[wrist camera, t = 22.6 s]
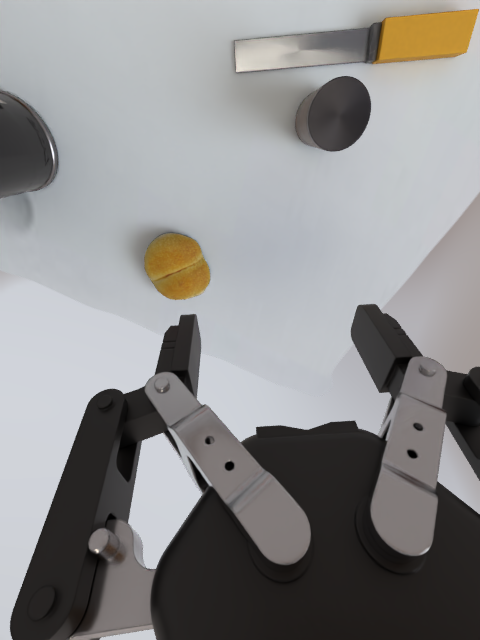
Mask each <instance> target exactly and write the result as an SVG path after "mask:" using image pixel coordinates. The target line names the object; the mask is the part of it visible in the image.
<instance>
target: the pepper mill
mask: <svg viewBox="0 0 480 640" xmlns="http://www.w3.org/2000/svg"><path fill="white" fill-rule="evenodd" d="M370 112H371V101H370V96H369V93H368V90H367V89H366V87H365V86H364V84H363V83H362V82H360V81H359V80H358V79H356V78H353V77H349V76H342V77H338V78H335V79H333V80H331V81H329V82H328V83H326V84H325V85H323V86H322V87H320V88H319V89H317V90H316V91H315V92H313V93H312V94H310V95H309V96H307V97H306V98H305V99H304V100H303V102H302V103H301V105H300V106H299V108H298V111H297V114H296V119H295V127H296V132H297V134H298V136H299V138H300V139H301V141H302V142H304V143H305V144H307V145H309V146H312V147H316V148H320V149H323V150H327V151H340V150H343V149H346V148H348V147H349V146H351V145H352V144H354V143H355V142H356V141H357V140H358V139H359V138H360V136H361V135H362V134H363V132H364V130H365V129H366V126H367V124H368V121H369V118H370Z"/></svg>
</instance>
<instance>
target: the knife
mask: <svg viewBox="0 0 480 640" xmlns="http://www.w3.org/2000/svg"><path fill="white" fill-rule="evenodd" d="M478 11H479V9H472V10H462V11H452V12H442V13H431V14H421V15H411V16H400V17H390V18H385V19H384V20H383V21H382V22H381V23H374V24H373V25H372V26H370V28H362V29H351V30H341V31H330V32H320V33H309V34H299V35H288V36H278V37H267V38H257V39H246V40H236V41H234V45H235V65H236V73H242V72H253V71H265V70H276V69H288V68H299V67H311V66H322V65H334V64H346V63H357V62H365V63H372V64H378V63H390V62H402V61H413V60H425V59H437V58H448V57H456V56H458V55H461V54H464V53H466V52H467V49H468V46H469V42H470V39H471V35H472V32H473V28H474V25H475V21H476V18H477V14H478Z"/></svg>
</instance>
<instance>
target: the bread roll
mask: <svg viewBox="0 0 480 640" xmlns="http://www.w3.org/2000/svg"><path fill="white" fill-rule="evenodd" d="M144 262H145V270H146V273H147V275H148V276H149V278H150V279H151V281H152V282H153V284H154V286H155V287H156V289H157V290H158V291H159V292H160V293H161V294H162V295H164V296H165V297H167V298H169V299H174V300H180V299H181V300H182V299H184V300H185V299H187V298H192V297H195V296H198V295H200V294H202V293H204V291H205V289H206V287H207V286H208V284H209V282H210V271H209V267H208V265H207V263H206V261H205V259H204V257H203V255H202V251H201V248H200V246H199V245H198V243H197V242H196V241H195V240H193V239H192V238H190V237H187V236H184V235H180V234H174V233H166V234H163V235H160V236H158V237H157V238H156V239H155V240H153V241H152V242H151V244H150V245H149V246H148V248H147V250H146V253H145V257H144Z"/></svg>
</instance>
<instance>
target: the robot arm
mask: <svg viewBox="0 0 480 640" xmlns="http://www.w3.org/2000/svg"><path fill="white" fill-rule="evenodd" d="M57 168H58V155H57V149H56V146H55V142H54V140H53V137H52V135H51V133H50V131H49V129H48V128H47V126H46V124H45V123H44V121H43V120H42V119H41V117H40V116H39V115H38V114H37V113H36V112H35V111H34V110H33V109H32V108H31V107H30V106H29V105H28V104H27V103H25V102H24V101H23V100H21V99H20V98H18V97H16V96H14V95H12V94H10V93H8V92H5V91H0V199H1V198H5V197H9V196H12V195H17V194H21V193H24V192H30V191H36V190H40V189H43V188H45V187H47V186H48V185H49V184H50V183H51V182H52V181H53V179H54V178H55V175H56V173H57ZM351 337H352V340H353V342H354V344H355V346H356V348H357V350H358V352H359V354H360V356H361V358H362V360H363V362H364V364H365V366H366V368H367V370H368V371H369V373H370V375H371V377H372V379H373V381H374V383H375V385H376V387H377V389H378V391H379V393H384V392H390V394H391V398H390V400H389V403H388V406H387V410H386V413H385V416H384V419H383V422H382V425H381V428H380V431H379V433H378V436H377V435H375V434H373V433H371V432H368V431H366V430H362V429H358V427H357V424H356V422H355V421H343V422H330V423H327V424H324V425H321V426H318V427H315V428H312V429H309V430H303V429H298V428H292V427H286V426H264V427H256V435H253V436H251V437H249V438H246V439H245V440H243V441H242V442H241V443H240V442H239V441H238V439H237V438H236V437H235V436H234V435H233V434H232V433H231V432H230V430H229V429H228V428H227V427H226V426H225V425H224V423H223V422H222V421H221V420H220V419H219V418H218V417H217V415H216V414H215V413H214V412H213V411H212V410H211V409H210V407H208V406H207V405H201V404H200V403H199V401H198V400H197V389H198V377H199V366H200V354H201V338H200V332H199V326H198V321H197V316H196V314H191V315H181V316H180V321H179V325H178V326H170V327H169V329H168V330H167V331H166V332H165V334H164V339H163V343H162V347H161V351H160V355H159V360H158V364H157V368H156V372H155V375H154V376H153V377H151V378H150V379H149V380H148V382H147V383H146V385H145V386H144V387H142V388H140V389H138V390H135V391H132V392H129V393H126V394H123V393H122V392H121V391H119V390H117V389H107V390H104V391H101V392H99V393H98V394H96V395H95V396H94V397H93V398H92V399H91V400H90V402H89V403H88V405H87V408H86V410H85V413H84V416H83V419H82V421H81V424H80V427H79V430H78V432H77V435H76V438H75V441H74V443H73V446H72V449H71V452H70V455H69V457H68V460H67V463H66V465H65V468H64V471H63V474H62V477H61V479H60V482H59V485H58V488H57V490H56V493H55V496H54V499H53V501H52V504H51V507H50V510H49V513H48V515H47V518H46V521H45V523H44V526H43V529H42V532H41V535H40V537H39V540H38V543H37V545H36V548H35V551H34V554H33V556H32V559H31V562H30V565H29V568H28V570H27V573H26V576H25V578H24V581H23V584H22V587H21V589H20V592H19V595H18V598H17V601H16V603H15V606H14V609H13V612H12V616H11V621H10V631H11V636H12V639H13V640H99V639H100V638H101V637H106V636H112V635H118V634H124V633H130V632H137V631H143V630H149V629H154V632H155V636H156V639H157V640H480V514H478V513H477V512H476V511H474V510H473V509H472V508H471V507H469V506H468V505H467V504H466V503H464V502H463V501H462V500H460V499H459V498H458V497H457V496H455V495H454V494H453V493H452V492H450V491H449V490H448V489H446V488H445V487H444V486H443V485H441V484H440V483H439V482H438V481H437V478H438V471H439V464H440V457H441V450H442V443H443V436H444V429H445V424H446V425H447V427H448V428H449V430H450V432H451V434H452V435H453V437H454V438H455V440H456V442H457V444H458V445H459V447H460V449H461V450H462V452H463V454H464V455H465V457H466V459H467V460H468V462H469V464H470V465H471V467H472V468H473V470H474V472H475V474H476V475H477V477H478V479H479V480H480V367H475V368H472V369H471V370H470V371H469V373H468V374H463V373H457V372H451V371H447V370H446V369H445V368H444V367H443V366H442V365H441V364H440V363H438V362H437V361H435V360H433V359H431V358H428V357H423V355H422V354H421V353H420V351H419V350H418V349H417V347H416V346H415V345H414V344H413V342H412V341H411V340H410V339H409V337H408V336H407V335H406V333H405V331H404V330H403V329H401V326H400V325H399V324H398V322H397V321H396V320H395V319H394V318H392V317H391V316H389V315H388V314H383V313H382V312H381V310H380V309H379V307H378V306H377V305H376V304H366V305H359V306H358V307H357V309H356V313H355V317H354V320H353V324H352V327H351ZM161 433H163V434H164V435H165V437H166V438H167V440H168V441H169V443H170V444H171V446H172V447H173V449H174V450H175V452H176V453H177V455H178V456H179V458H180V459H181V461H182V462H183V464H184V466H185V468H186V470H187V472H188V473H189V475H190V477H191V478H192V480H193V482H194V483H195V485H196V486H197V488H198V489H199V491H200V492H201V494H202V496H201V498H200V499H199V501H198V502H197V504H196V505H195V507H194V508H193V509H192V511H191V513H190V514H189V515H188V517H187V518H186V520H185V522H184V523H183V524H182V526H181V527H180V529H179V531H178V532H177V533H176V535H175V536H174V538H173V539H172V541H171V542H170V544H169V545H168V547H167V548H166V550H165V551H164V553H163V555H162V557H161V559H160V561H159V563H158V565H157V568H156V569H147V568H146V566H145V564H144V561H143V551H142V550H143V547H142V546H143V545H142V540H141V538H140V536H139V535H138V534H137V532H136V531H135V530H134V529H133V528H132V527H131V526H130V525H129V524H128V519H129V513H130V507H131V502H132V495H133V490H134V484H135V478H136V472H137V466H138V460H139V455H140V449H141V443H142V440H144V439H148V438H150V437H153V436H155V435H158V434H161Z"/></svg>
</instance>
